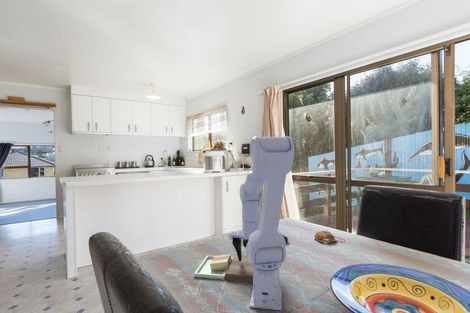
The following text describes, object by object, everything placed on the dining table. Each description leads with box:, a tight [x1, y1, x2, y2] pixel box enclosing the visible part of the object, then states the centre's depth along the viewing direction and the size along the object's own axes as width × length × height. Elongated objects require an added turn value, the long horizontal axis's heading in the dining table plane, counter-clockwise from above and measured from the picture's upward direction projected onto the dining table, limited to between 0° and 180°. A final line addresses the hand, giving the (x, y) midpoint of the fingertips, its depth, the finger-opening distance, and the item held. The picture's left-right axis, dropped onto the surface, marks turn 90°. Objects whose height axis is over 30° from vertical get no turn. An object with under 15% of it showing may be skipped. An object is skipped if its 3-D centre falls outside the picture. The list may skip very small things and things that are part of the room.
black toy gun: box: [242, 233, 289, 246], centre depth 110 cm, size 3×20×16 cm
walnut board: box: [225, 254, 253, 283], centre depth 81 cm, size 14×9×2 cm, turn 169°
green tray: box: [193, 255, 234, 280], centre depth 83 cm, size 14×10×1 cm
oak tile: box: [210, 253, 232, 271], centre depth 83 cm, size 6×6×2 cm
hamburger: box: [313, 230, 346, 245], centre depth 107 cm, size 14×14×6 cm
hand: (251, 260), depth 81 cm, fingers open, 7 cm apart
